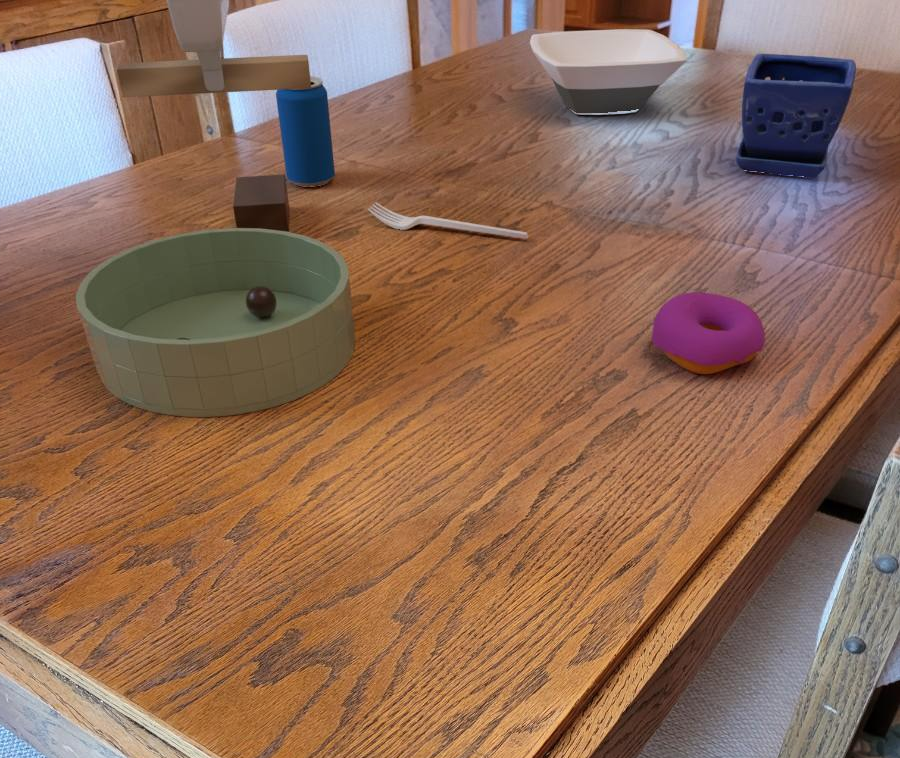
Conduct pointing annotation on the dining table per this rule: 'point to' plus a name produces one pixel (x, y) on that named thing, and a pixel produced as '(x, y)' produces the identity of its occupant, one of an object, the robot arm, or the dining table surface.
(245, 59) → the stirring stick
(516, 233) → the fork
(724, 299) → the donut
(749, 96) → the flower pot
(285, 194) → the block
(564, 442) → the dining table surface
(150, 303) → the green round basin
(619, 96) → the bowl
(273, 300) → the bead
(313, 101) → the beverage can
